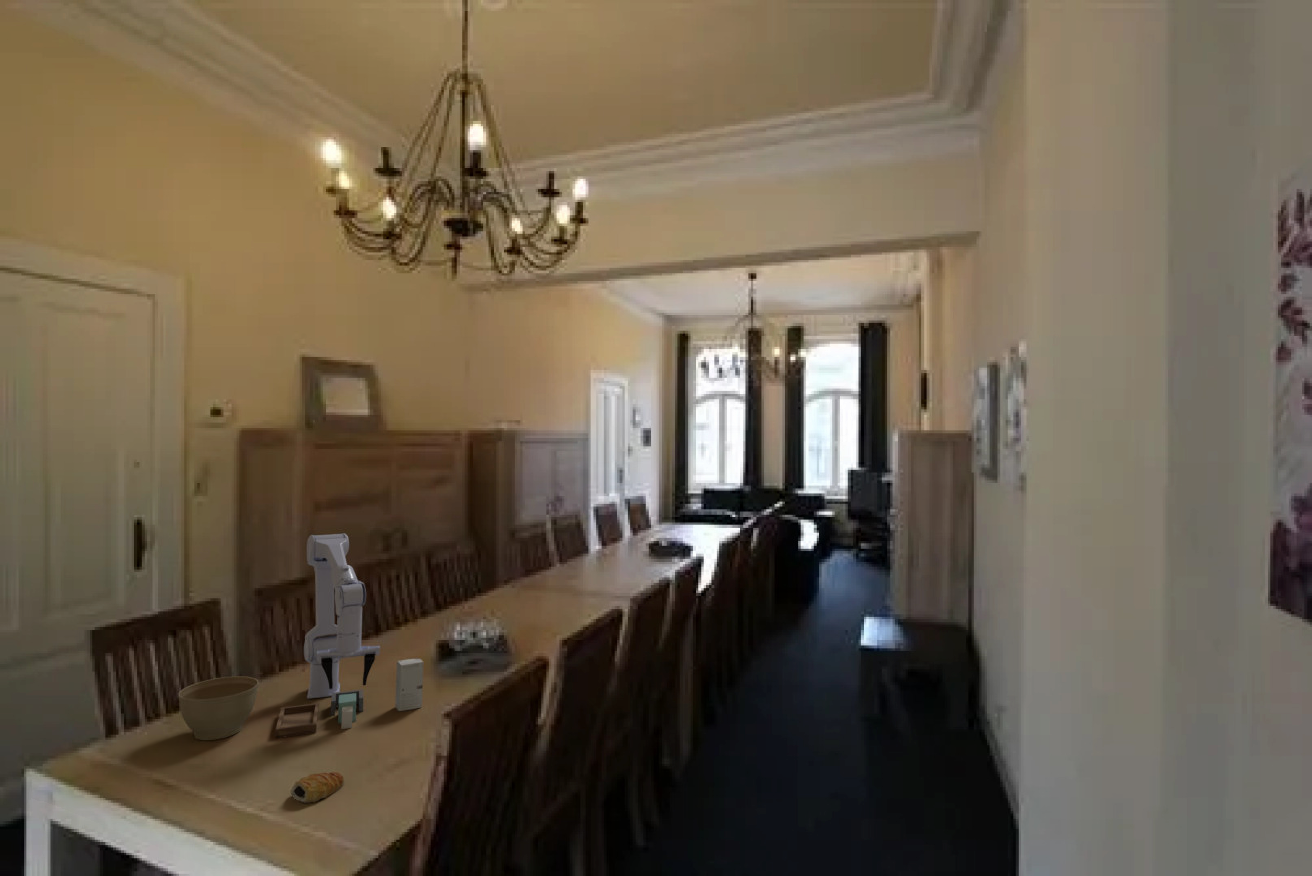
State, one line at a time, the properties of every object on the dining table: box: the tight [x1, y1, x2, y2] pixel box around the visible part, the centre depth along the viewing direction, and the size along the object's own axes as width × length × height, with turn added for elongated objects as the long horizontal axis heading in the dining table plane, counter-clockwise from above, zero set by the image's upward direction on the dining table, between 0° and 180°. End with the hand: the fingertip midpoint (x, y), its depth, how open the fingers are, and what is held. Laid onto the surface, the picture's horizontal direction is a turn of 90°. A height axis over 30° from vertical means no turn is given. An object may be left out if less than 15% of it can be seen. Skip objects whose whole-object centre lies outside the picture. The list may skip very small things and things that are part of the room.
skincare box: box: [394, 657, 425, 712], centre depth 181 cm, size 6×4×12 cm
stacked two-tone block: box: [337, 693, 357, 730], centre depth 171 cm, size 10×4×5 cm, turn 24°
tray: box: [274, 702, 320, 739], centre depth 169 cm, size 15×9×2 cm, turn 24°
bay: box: [330, 689, 364, 716], centre depth 179 cm, size 7×8×4 cm
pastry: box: [290, 771, 345, 804], centre depth 136 cm, size 9×7×4 cm
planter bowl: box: [178, 675, 259, 741], centre depth 163 cm, size 16×16×11 cm
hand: (347, 685), depth 172 cm, fingers open, 7 cm apart
